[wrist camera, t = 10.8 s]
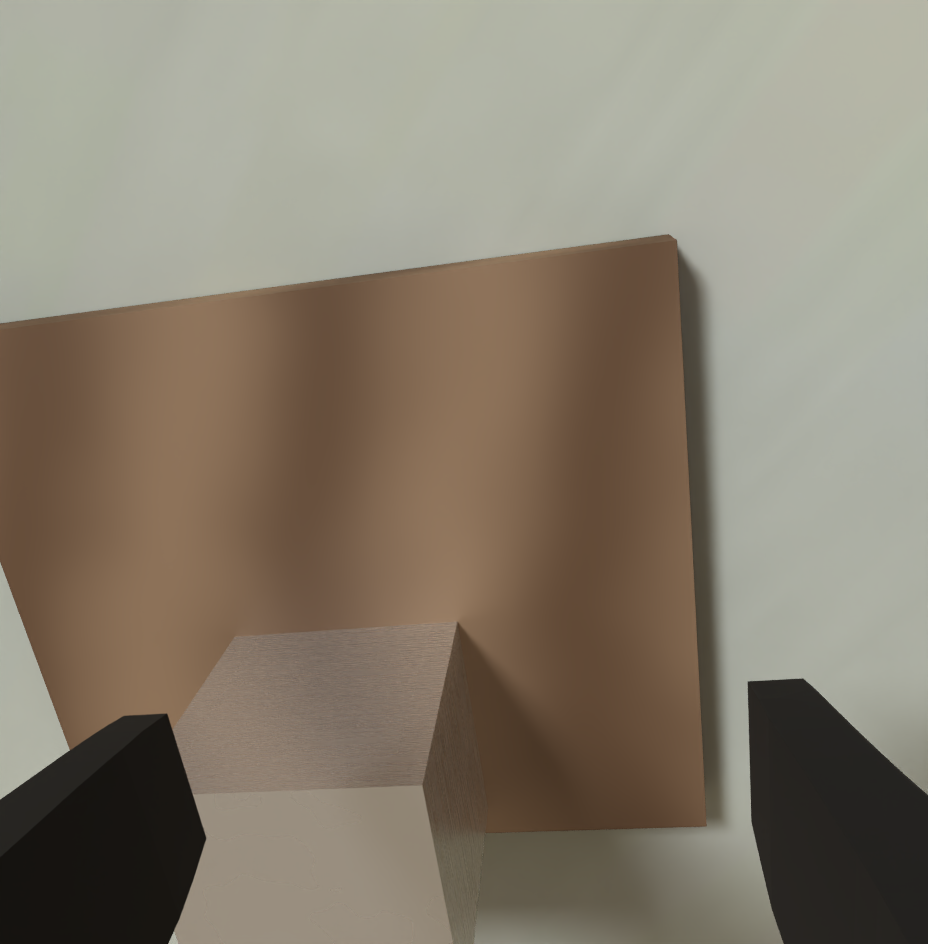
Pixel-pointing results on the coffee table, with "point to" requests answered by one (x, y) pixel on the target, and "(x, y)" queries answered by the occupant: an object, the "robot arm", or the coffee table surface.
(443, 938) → the brushed aluminum cube
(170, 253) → the coffee table surface
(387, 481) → the walnut board
